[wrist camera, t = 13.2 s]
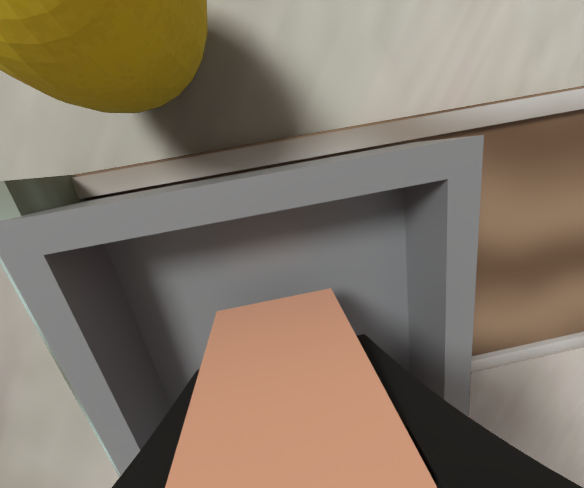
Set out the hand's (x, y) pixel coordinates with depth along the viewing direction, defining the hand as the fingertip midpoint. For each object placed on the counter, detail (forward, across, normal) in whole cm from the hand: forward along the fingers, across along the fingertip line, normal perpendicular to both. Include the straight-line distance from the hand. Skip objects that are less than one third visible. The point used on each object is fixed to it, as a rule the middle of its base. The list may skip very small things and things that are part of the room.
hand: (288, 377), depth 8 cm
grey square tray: (+5, 0, 0) cm, 5 cm away
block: (+2, 0, 0) cm, 2 cm away
